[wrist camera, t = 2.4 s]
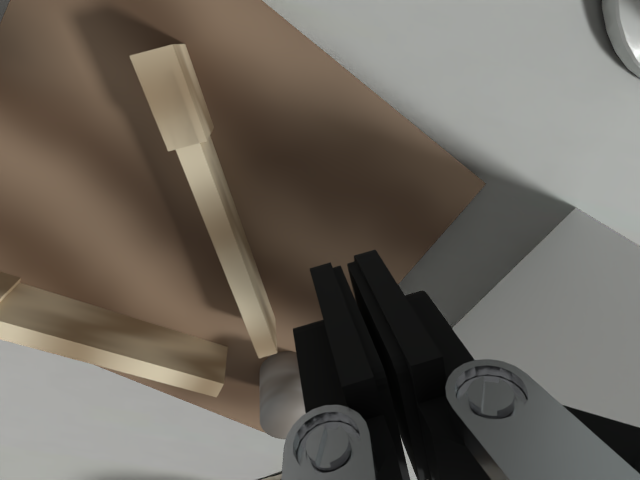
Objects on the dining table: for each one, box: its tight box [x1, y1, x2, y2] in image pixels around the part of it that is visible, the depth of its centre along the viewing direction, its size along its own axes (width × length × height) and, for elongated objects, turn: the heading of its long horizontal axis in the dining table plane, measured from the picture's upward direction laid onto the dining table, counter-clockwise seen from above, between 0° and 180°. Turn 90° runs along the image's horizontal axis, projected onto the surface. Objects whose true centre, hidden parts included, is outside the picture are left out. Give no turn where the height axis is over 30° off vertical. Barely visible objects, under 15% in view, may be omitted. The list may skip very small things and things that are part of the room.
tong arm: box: [129, 44, 277, 358], centre depth 20 cm, size 15×2×3 cm, turn 14°
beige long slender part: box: [0, 271, 306, 439], centre depth 22 cm, size 20×3×4 cm, turn 63°
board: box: [0, 0, 486, 433], centre depth 22 cm, size 21×22×1 cm
